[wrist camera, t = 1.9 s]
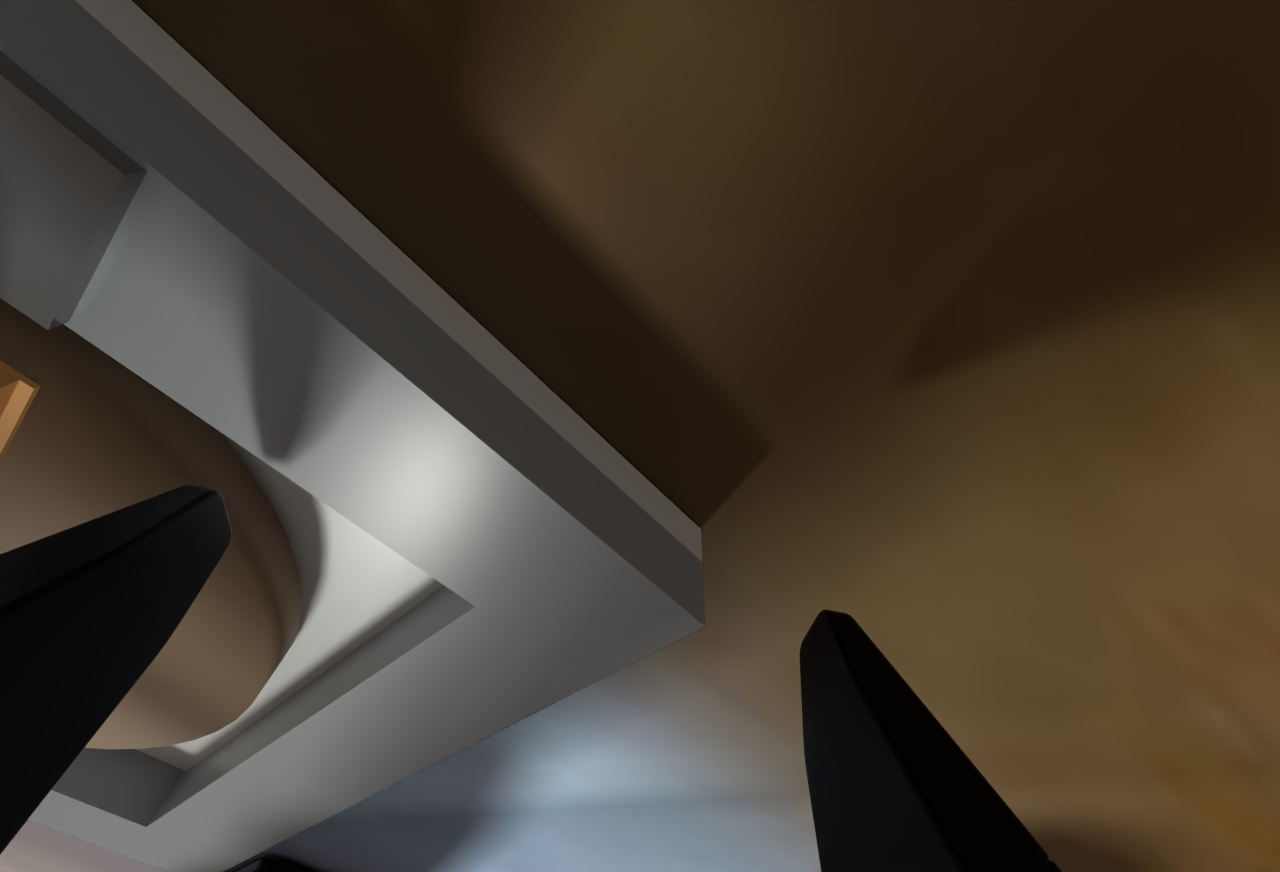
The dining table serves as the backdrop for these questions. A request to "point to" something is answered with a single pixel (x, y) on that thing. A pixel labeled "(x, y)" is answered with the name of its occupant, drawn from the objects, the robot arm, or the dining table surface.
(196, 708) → the dial
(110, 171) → the dial plate
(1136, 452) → the dining table surface
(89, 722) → the robot arm
